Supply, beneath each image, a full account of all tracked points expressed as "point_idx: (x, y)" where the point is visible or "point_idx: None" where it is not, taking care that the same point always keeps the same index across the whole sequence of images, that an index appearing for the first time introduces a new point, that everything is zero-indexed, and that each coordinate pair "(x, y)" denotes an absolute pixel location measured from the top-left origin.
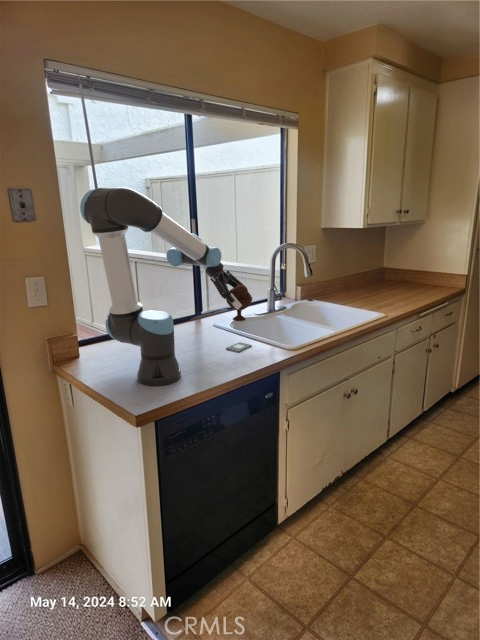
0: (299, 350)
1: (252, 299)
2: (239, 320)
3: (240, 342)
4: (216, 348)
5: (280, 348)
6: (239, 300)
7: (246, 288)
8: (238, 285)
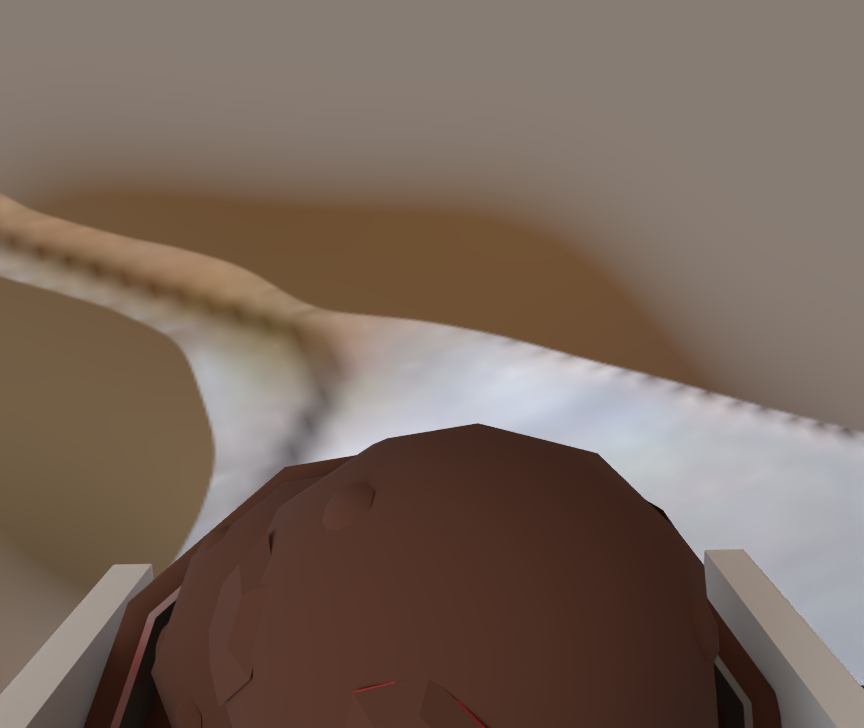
0: (314, 315)
1: (139, 567)
2: None
3: None
4: None
5: (318, 445)
6: (708, 604)
7: (432, 431)
8: (555, 659)
